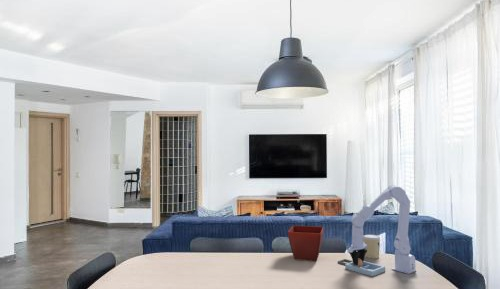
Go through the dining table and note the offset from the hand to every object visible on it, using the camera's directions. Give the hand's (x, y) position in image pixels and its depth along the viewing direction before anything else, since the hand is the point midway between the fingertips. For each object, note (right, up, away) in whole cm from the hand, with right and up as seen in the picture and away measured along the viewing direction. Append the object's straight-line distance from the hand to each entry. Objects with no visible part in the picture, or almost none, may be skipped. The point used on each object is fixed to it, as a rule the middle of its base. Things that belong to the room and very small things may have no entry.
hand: (358, 263), depth 186 cm
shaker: (+5, -3, +10) cm, 11 cm away
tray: (+2, -2, -3) cm, 5 cm away
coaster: (-4, -3, +9) cm, 10 cm away
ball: (0, 0, 0) cm, 0 cm away
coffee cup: (+15, -3, +21) cm, 26 cm away
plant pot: (-24, -4, +21) cm, 32 cm away
